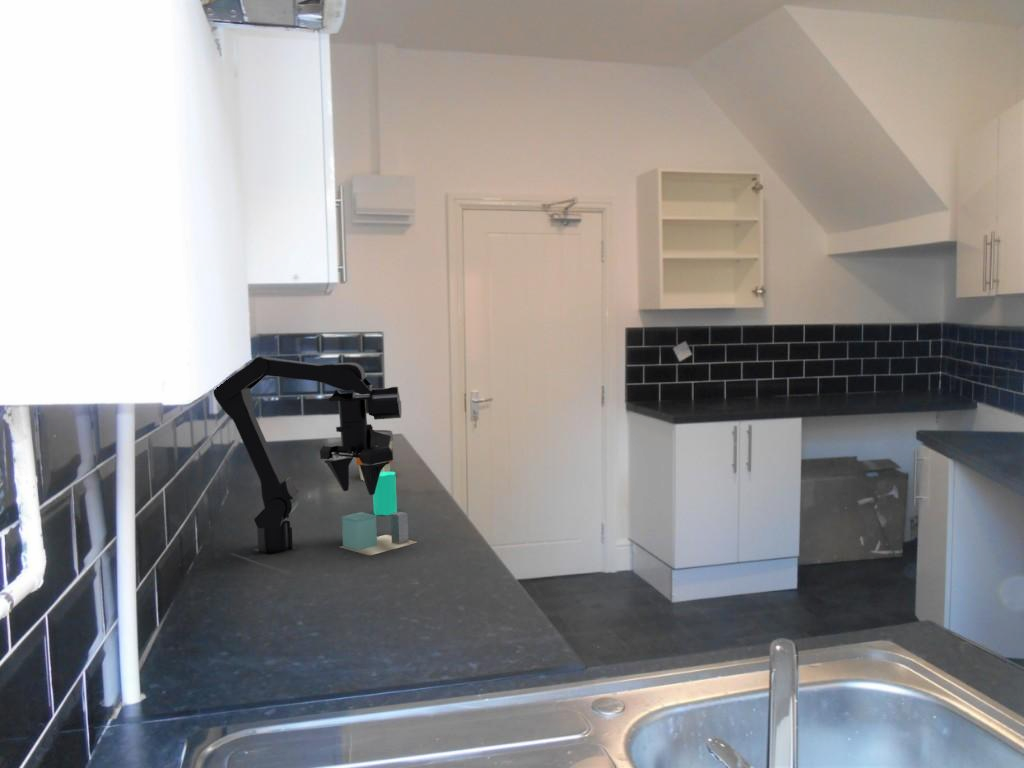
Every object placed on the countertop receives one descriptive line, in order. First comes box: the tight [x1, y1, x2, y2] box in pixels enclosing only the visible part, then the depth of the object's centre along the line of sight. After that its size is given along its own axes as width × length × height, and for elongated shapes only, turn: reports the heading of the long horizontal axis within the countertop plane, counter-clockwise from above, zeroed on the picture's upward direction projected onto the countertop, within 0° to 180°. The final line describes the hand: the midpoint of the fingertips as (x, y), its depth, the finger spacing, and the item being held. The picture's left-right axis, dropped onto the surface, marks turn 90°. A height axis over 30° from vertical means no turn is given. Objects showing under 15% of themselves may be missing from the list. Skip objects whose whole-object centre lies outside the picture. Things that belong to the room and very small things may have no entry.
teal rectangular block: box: [341, 511, 378, 551], centre depth 175 cm, size 5×5×7 cm
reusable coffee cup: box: [355, 429, 394, 482], centre depth 259 cm, size 13×13×15 cm
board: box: [339, 534, 418, 556], centre depth 176 cm, size 13×11×1 cm
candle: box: [372, 467, 398, 516], centre depth 209 cm, size 6×6×12 cm
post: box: [390, 511, 410, 545], centre depth 177 cm, size 3×3×7 cm
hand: (358, 492), depth 175 cm, fingers open, 9 cm apart
